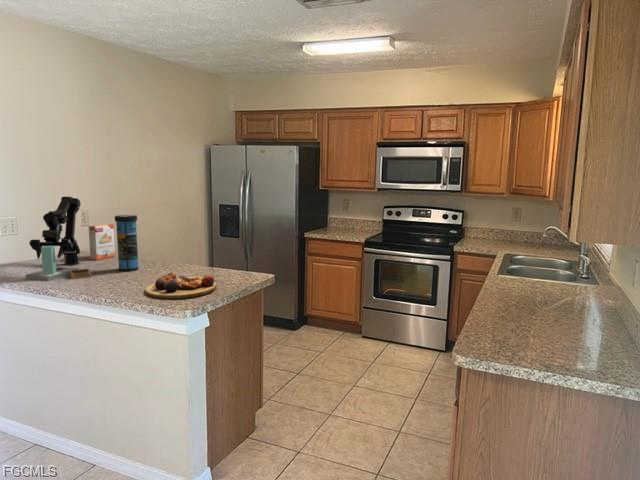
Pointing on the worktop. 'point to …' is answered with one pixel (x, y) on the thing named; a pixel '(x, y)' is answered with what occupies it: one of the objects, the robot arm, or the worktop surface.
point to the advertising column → (127, 242)
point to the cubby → (80, 273)
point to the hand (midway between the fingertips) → (48, 257)
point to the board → (59, 273)
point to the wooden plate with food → (180, 287)
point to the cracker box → (101, 241)
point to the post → (48, 260)
